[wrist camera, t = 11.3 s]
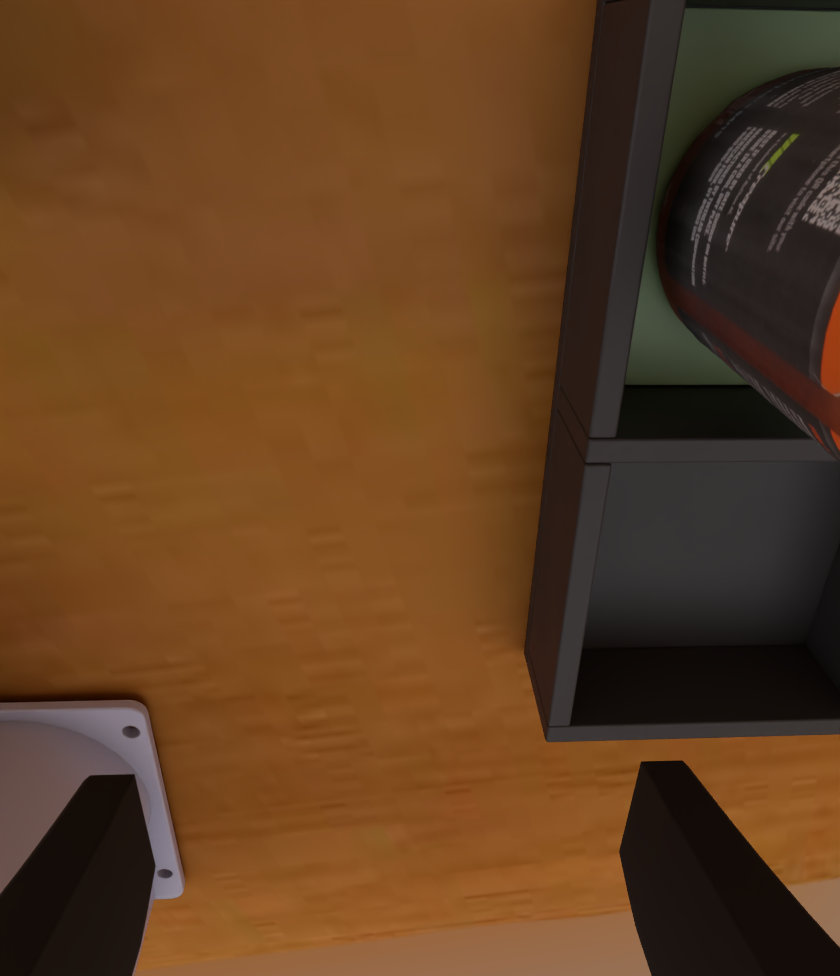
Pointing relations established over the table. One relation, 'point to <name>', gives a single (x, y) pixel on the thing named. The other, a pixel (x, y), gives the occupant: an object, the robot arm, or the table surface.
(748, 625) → the box
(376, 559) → the table surface
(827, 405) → the supplement bottle
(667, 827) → the robot arm
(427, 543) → the table surface
